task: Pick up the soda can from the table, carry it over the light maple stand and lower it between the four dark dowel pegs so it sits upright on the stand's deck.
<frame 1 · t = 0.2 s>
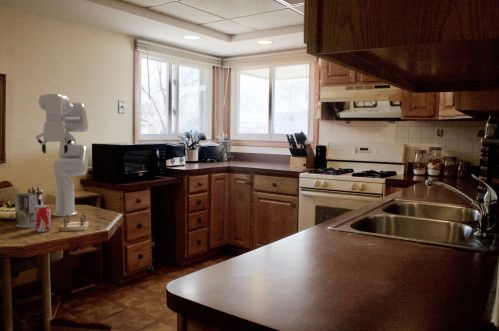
hand: (55, 153, 210), 36 cm above the table, tool pointing down, fingers open, 9 cm apart
peg stand: (75, 228, 205), on the table
soda can: (42, 231, 199), on the table
coffee box: (27, 226, 207), on the table
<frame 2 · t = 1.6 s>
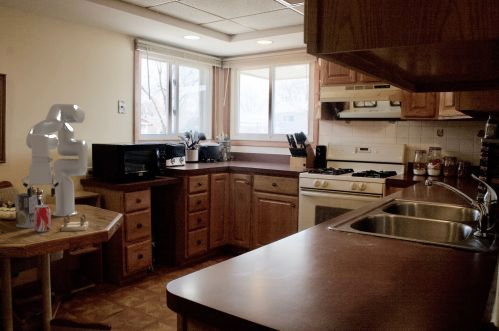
hand: (41, 196, 197), 16 cm above the table, tool pointing down, fingers open, 9 cm apart
nothing on the table moved.
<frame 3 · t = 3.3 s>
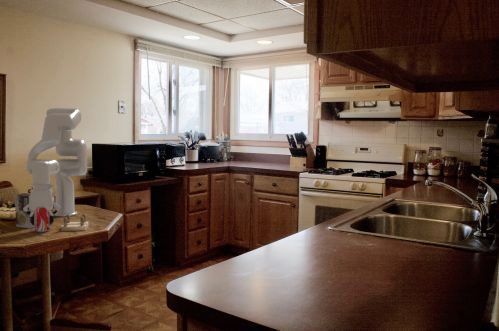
hand: (42, 223, 199), 3 cm above the table, tool pointing down, fingers closed on soda can, 7 cm apart
soda can: (42, 231, 199), on the table, touching gripper
everything else where it was.
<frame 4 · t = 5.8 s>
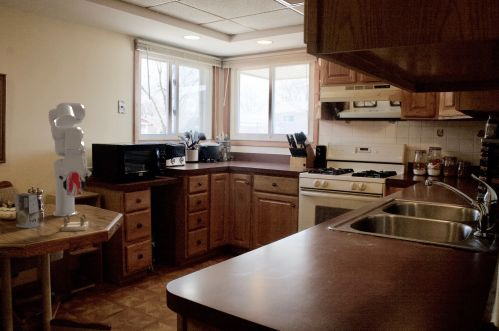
hand: (74, 188, 204), 19 cm above the table, tool pointing down, fingers closed on soda can, 7 cm apart
soda can: (74, 196, 204), point 16 cm above the table, touching gripper
everything else where it was.
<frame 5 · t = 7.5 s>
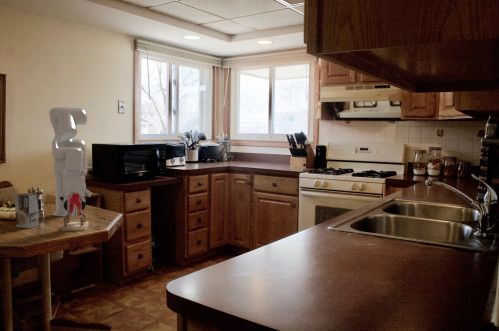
hand: (74, 209, 204), 9 cm above the table, tool pointing down, fingers closed on soda can, 7 cm apart
soda can: (75, 216, 205), point 6 cm above the table, touching gripper
everything else where it was.
when the fingers open (6 cm above the table, at t = 8.7 s): soda can stays where it is, resting on peg stand.
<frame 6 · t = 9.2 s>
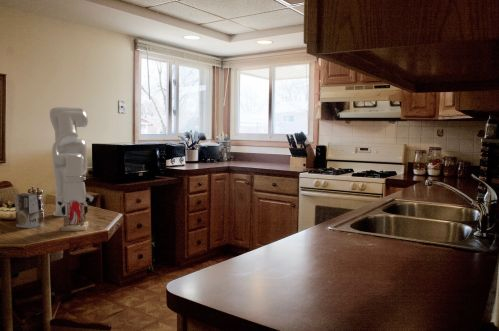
hand: (74, 214, 205), 7 cm above the table, tool pointing down, fingers open, 9 cm apart
soda can: (74, 224, 205), point 2 cm above the table, touching peg stand
everything else where it was.
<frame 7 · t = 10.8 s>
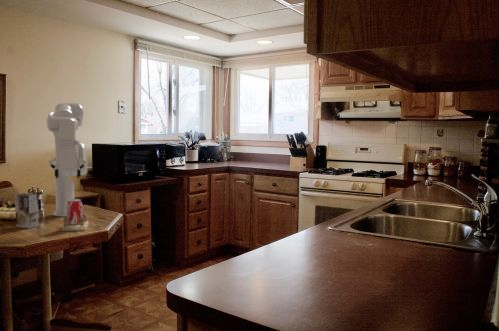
hand: (67, 177, 208), 24 cm above the table, tool pointing down, fingers open, 9 cm apart
nothing on the table moved.
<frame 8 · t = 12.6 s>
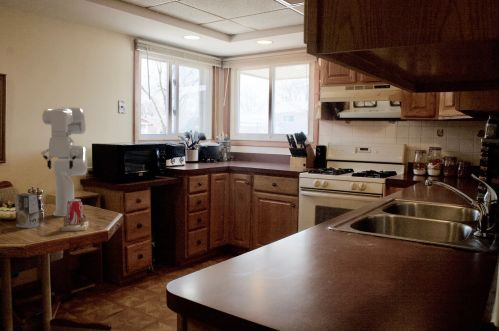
hand: (60, 168, 211), 28 cm above the table, tool pointing down, fingers open, 9 cm apart
nothing on the table moved.
at the end: soda can 0.1 cm from the peg stand (horizontally); soda can tilted 0°; soda can point 1.8 cm above the table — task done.
